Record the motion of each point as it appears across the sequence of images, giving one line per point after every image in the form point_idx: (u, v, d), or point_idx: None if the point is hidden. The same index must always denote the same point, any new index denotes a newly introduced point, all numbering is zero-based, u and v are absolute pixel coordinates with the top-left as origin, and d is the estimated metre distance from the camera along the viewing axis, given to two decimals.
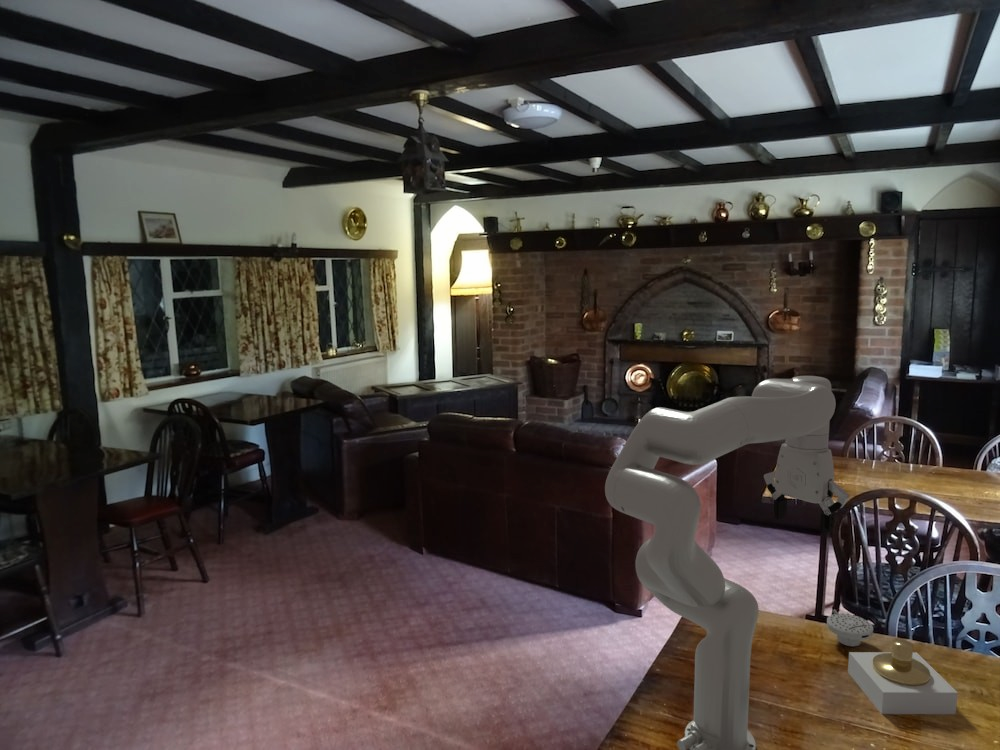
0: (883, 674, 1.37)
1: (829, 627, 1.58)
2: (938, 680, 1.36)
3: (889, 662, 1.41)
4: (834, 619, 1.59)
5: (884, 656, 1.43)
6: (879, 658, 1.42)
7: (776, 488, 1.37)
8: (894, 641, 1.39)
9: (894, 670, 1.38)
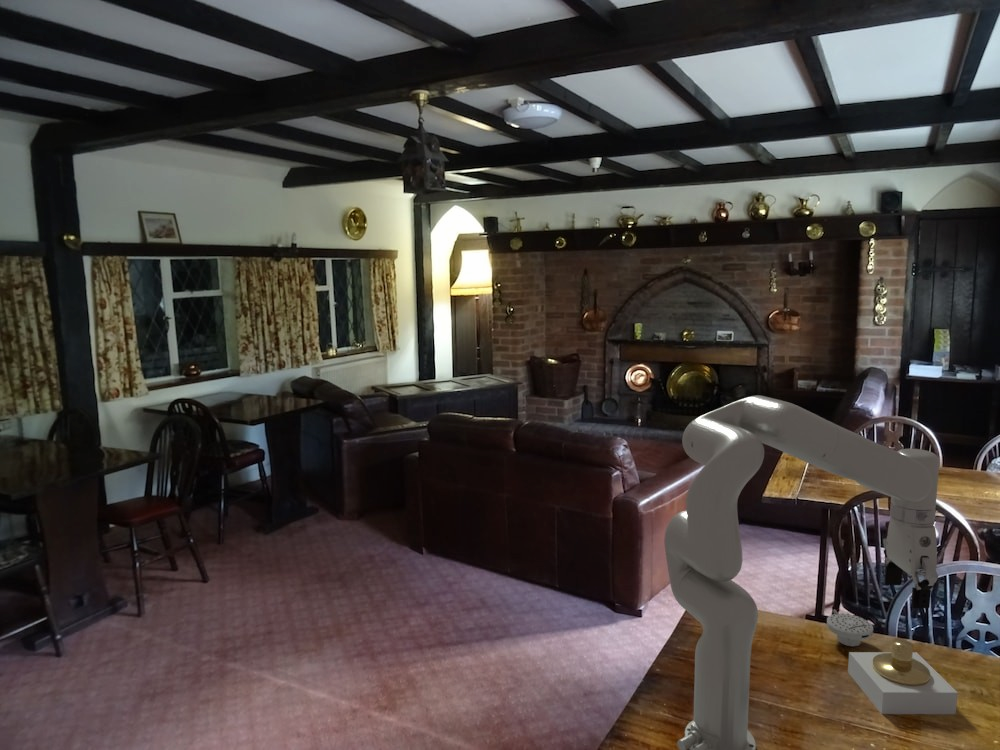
0: (883, 674, 1.37)
1: (829, 627, 1.58)
2: (938, 680, 1.36)
3: (889, 662, 1.41)
4: (834, 619, 1.59)
5: (884, 656, 1.43)
6: (879, 658, 1.42)
7: None
8: (894, 641, 1.39)
9: (894, 670, 1.38)
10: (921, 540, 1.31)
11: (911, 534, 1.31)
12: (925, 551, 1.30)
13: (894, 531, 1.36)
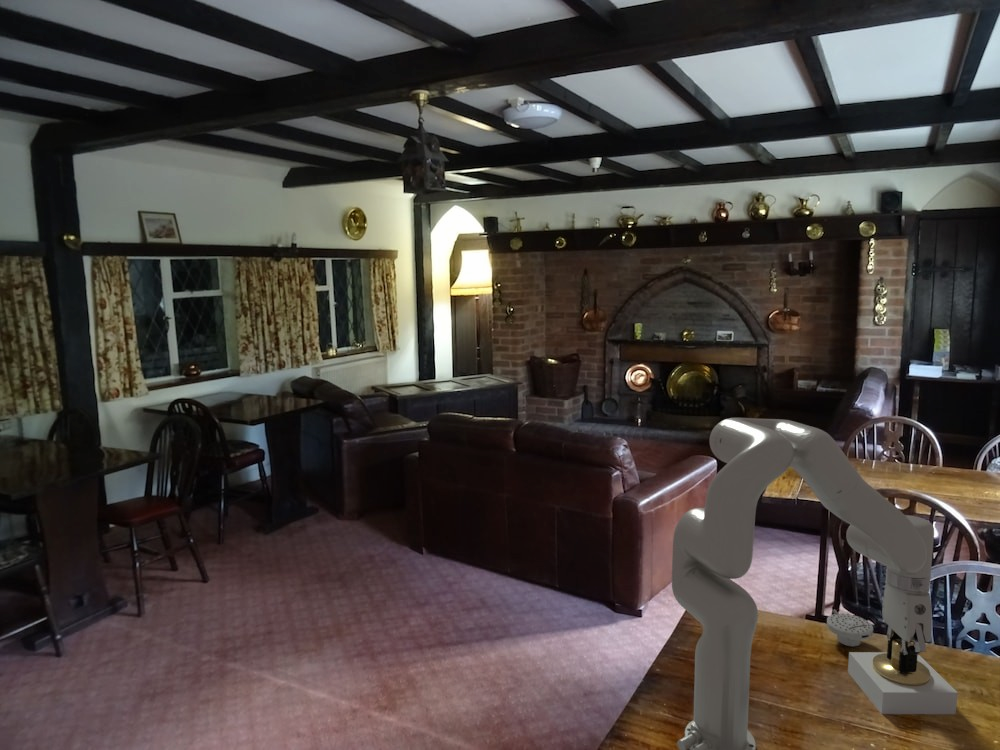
0: (883, 674, 1.37)
1: (829, 627, 1.58)
2: (938, 680, 1.36)
3: (889, 662, 1.41)
4: (834, 619, 1.59)
5: (884, 656, 1.43)
6: (879, 658, 1.42)
7: None
8: (894, 641, 1.39)
9: (894, 670, 1.38)
10: (916, 607, 1.33)
11: (906, 601, 1.33)
12: (920, 619, 1.32)
13: (889, 596, 1.38)
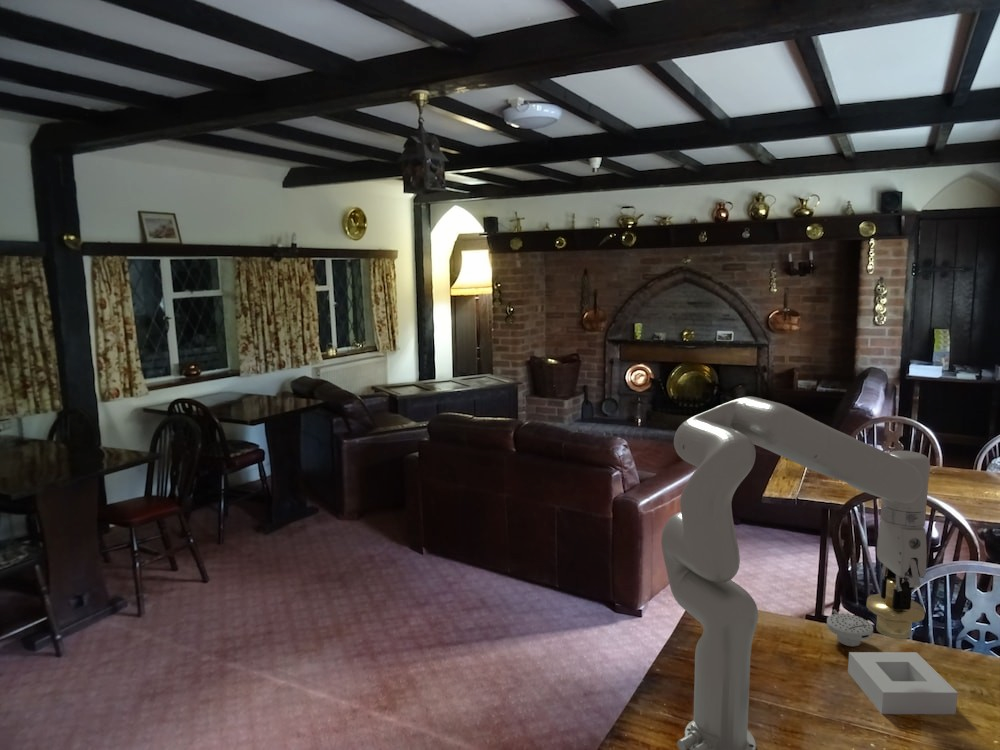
0: (877, 612, 1.35)
1: (829, 627, 1.58)
2: (938, 680, 1.36)
3: (883, 601, 1.39)
4: (834, 619, 1.59)
5: (878, 596, 1.41)
6: (873, 598, 1.40)
7: None
8: (888, 579, 1.37)
9: (888, 608, 1.36)
10: (911, 542, 1.31)
11: (901, 536, 1.31)
12: (915, 553, 1.30)
13: (884, 533, 1.36)
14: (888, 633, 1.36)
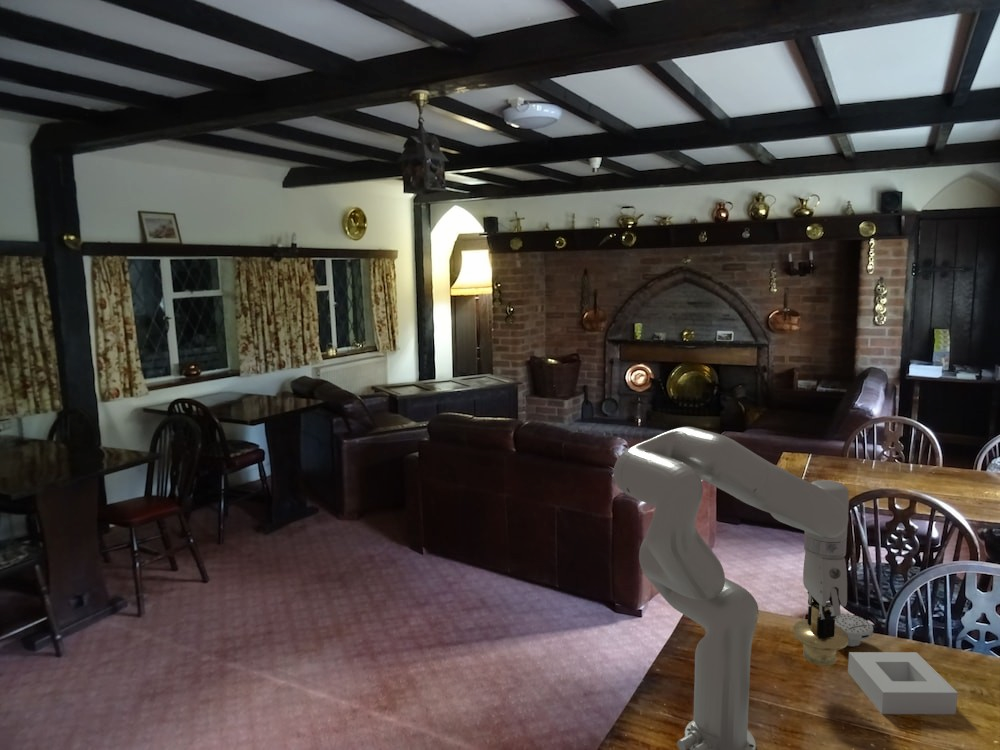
0: (801, 640, 1.37)
1: None
2: (938, 680, 1.36)
3: (809, 628, 1.40)
4: None
5: (806, 622, 1.43)
6: (800, 624, 1.42)
7: None
8: (813, 606, 1.39)
9: (813, 635, 1.38)
10: (831, 572, 1.32)
11: (822, 566, 1.33)
12: (835, 583, 1.32)
13: (808, 562, 1.38)
14: (813, 660, 1.38)
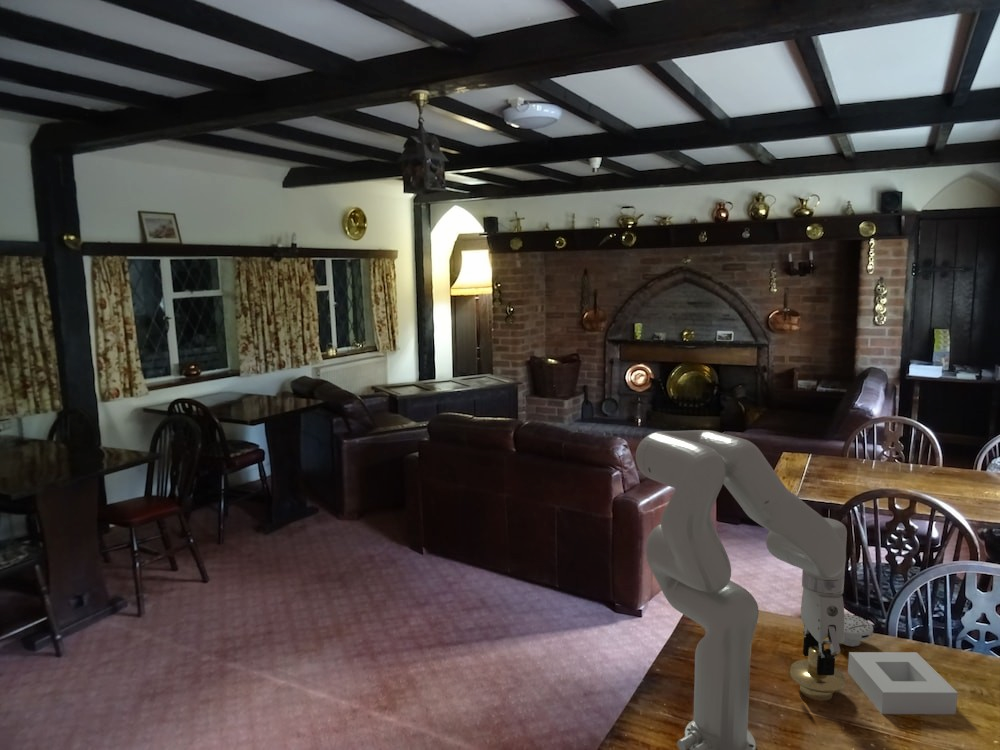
0: (798, 681, 1.38)
1: None
2: (938, 680, 1.36)
3: (806, 669, 1.42)
4: None
5: (803, 662, 1.44)
6: (797, 665, 1.43)
7: None
8: (810, 648, 1.40)
9: (810, 677, 1.39)
10: (829, 609, 1.33)
11: (819, 603, 1.34)
12: (832, 620, 1.33)
13: (806, 598, 1.39)
14: None
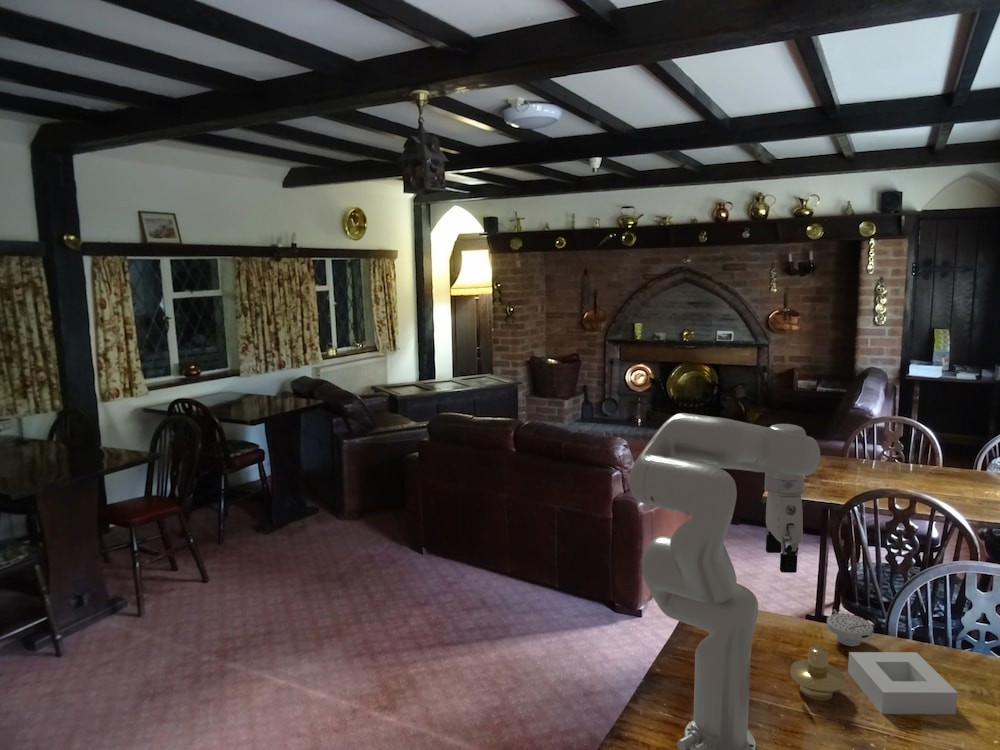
0: (798, 681, 1.38)
1: (829, 627, 1.58)
2: (938, 680, 1.36)
3: (806, 669, 1.42)
4: (834, 619, 1.59)
5: (803, 662, 1.44)
6: (797, 665, 1.43)
7: (802, 538, 1.41)
8: (810, 648, 1.40)
9: (810, 677, 1.39)
10: (788, 509, 1.40)
11: (779, 503, 1.40)
12: (791, 519, 1.39)
13: (769, 501, 1.46)
14: None
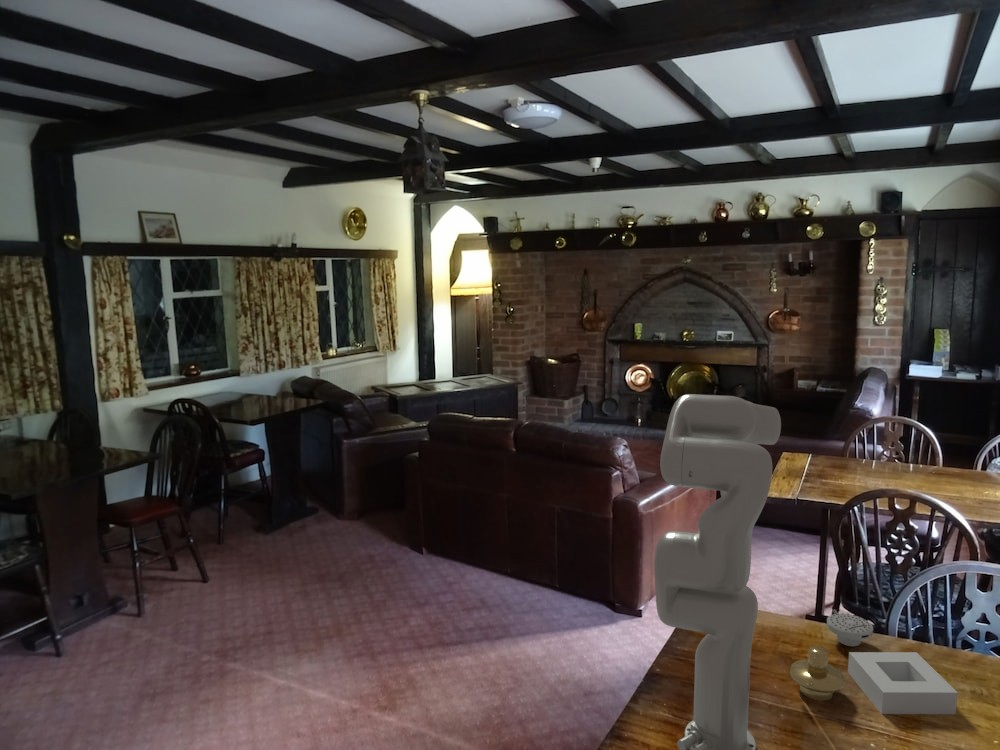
0: (798, 681, 1.38)
1: (829, 627, 1.58)
2: (938, 680, 1.36)
3: (806, 669, 1.42)
4: (834, 619, 1.59)
5: (803, 662, 1.44)
6: (797, 665, 1.43)
7: None
8: (810, 648, 1.40)
9: (810, 677, 1.39)
10: None
11: None
12: None
13: None
14: None
